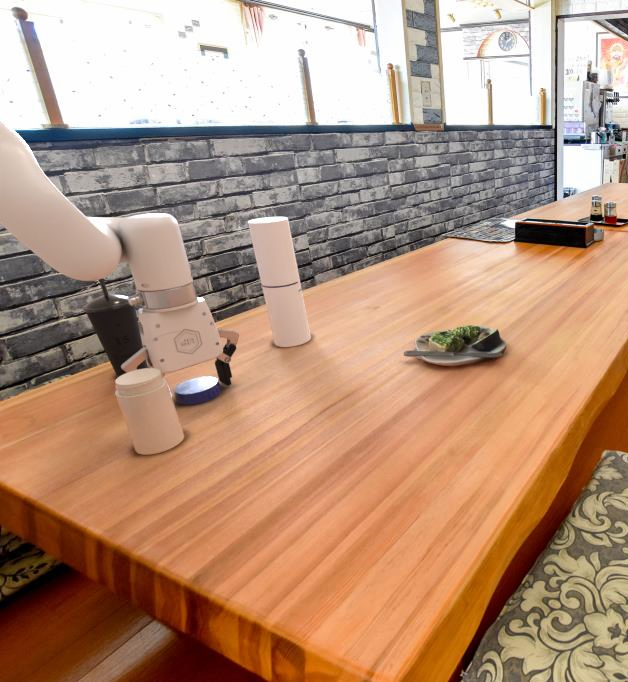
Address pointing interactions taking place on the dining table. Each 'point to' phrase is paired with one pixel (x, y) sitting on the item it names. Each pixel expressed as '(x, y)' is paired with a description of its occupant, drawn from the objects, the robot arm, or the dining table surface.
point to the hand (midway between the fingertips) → (196, 393)
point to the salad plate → (459, 346)
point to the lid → (197, 390)
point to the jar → (148, 411)
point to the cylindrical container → (280, 280)
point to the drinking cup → (115, 327)
